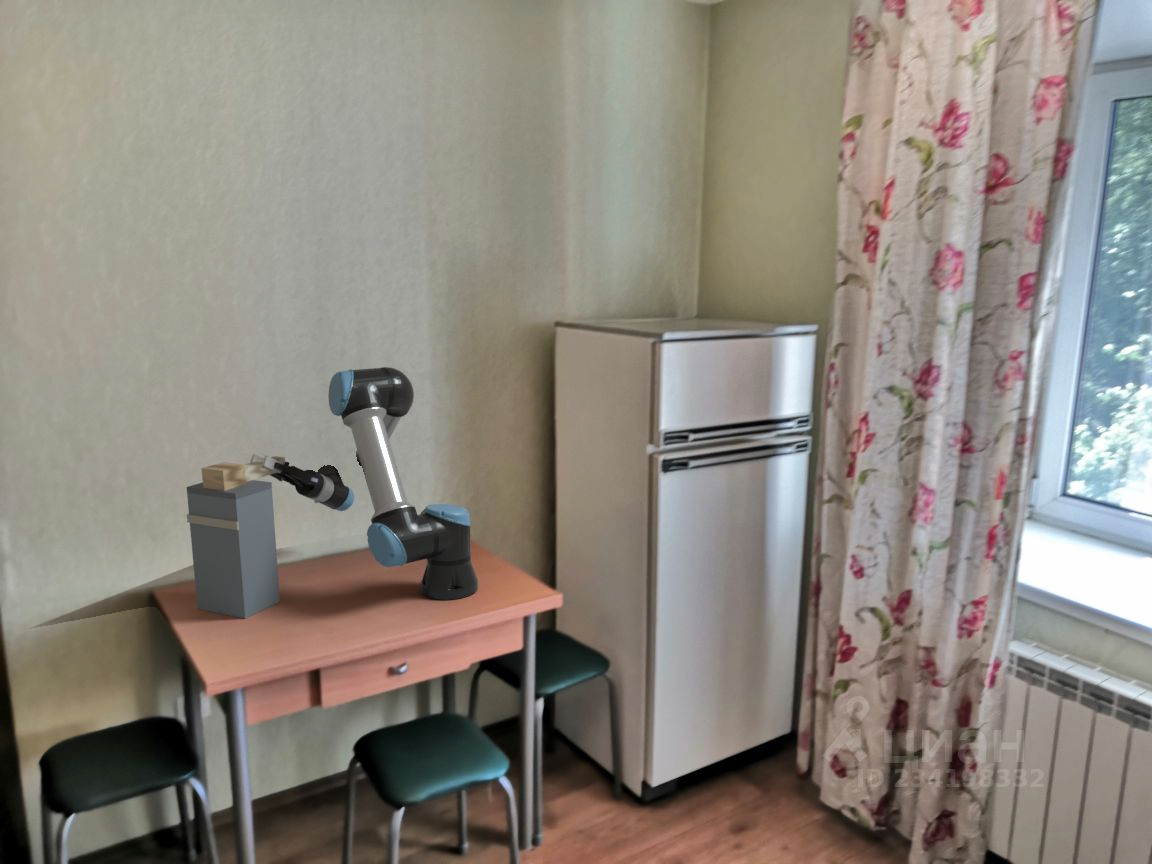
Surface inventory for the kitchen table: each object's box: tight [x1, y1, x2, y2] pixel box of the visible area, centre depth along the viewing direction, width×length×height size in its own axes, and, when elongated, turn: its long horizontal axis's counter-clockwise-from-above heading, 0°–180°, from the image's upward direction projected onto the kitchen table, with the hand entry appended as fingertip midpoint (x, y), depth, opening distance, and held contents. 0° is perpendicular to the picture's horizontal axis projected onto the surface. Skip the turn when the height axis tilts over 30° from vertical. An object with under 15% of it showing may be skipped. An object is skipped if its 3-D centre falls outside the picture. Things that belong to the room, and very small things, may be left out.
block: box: [201, 455, 286, 491], centre depth 219 cm, size 23×7×5 cm, turn 156°
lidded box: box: [186, 479, 281, 620], centre depth 217 cm, size 16×12×32 cm
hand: (258, 459), depth 222 cm, fingers closed on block, 3 cm apart
